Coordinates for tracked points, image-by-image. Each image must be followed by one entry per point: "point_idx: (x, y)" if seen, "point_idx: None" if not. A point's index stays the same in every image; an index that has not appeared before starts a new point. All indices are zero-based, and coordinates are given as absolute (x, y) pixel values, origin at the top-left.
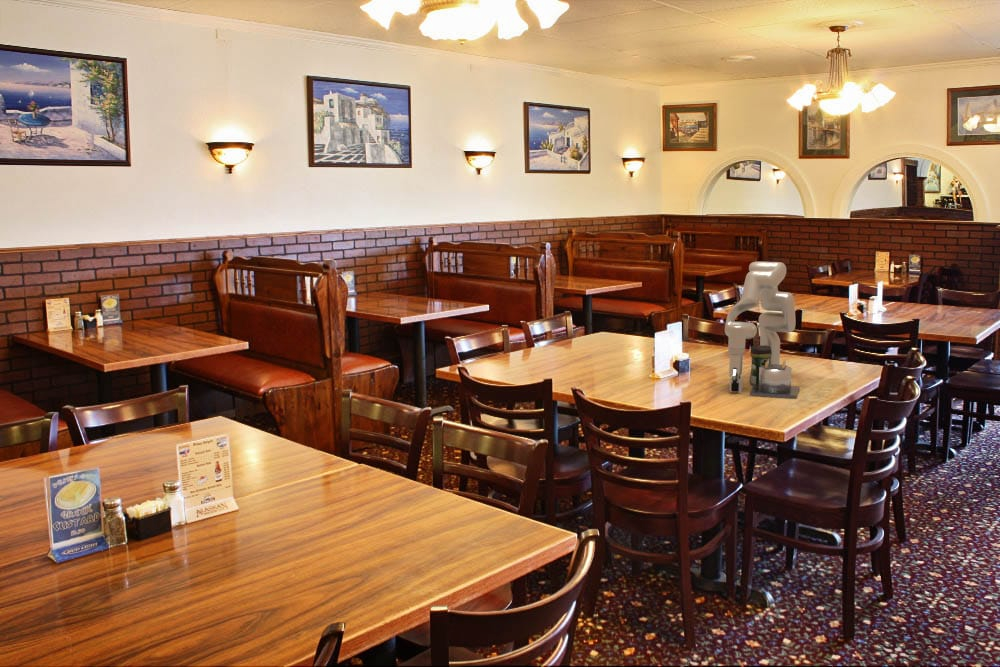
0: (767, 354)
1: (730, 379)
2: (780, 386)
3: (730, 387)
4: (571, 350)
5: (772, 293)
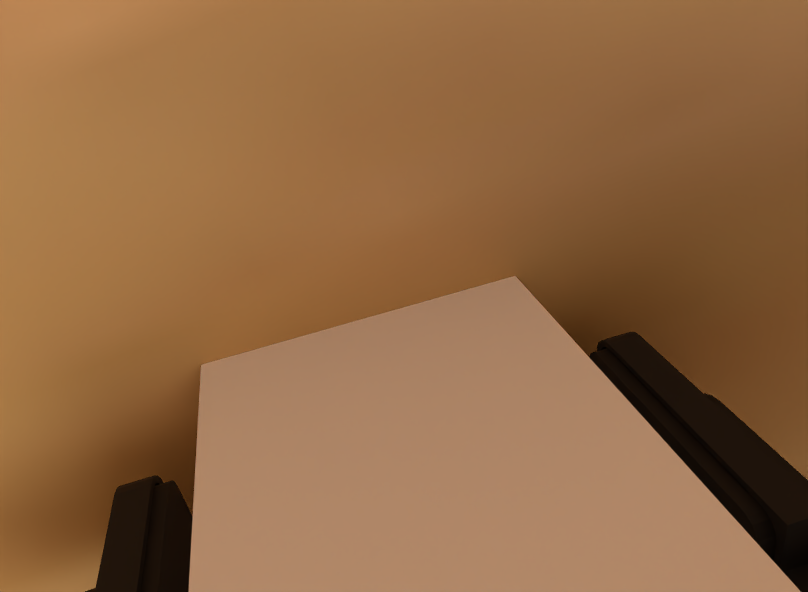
0: None
1: None
2: None
3: (202, 486)
4: None
5: None
